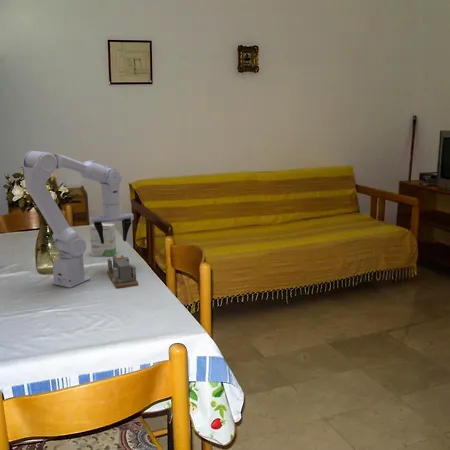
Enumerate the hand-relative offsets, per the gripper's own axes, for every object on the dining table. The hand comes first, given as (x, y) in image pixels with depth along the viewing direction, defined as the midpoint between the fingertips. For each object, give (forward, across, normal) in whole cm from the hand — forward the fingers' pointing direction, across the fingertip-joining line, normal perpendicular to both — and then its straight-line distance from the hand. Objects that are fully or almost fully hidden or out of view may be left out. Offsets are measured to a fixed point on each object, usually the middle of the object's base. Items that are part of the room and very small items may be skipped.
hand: (113, 241), depth 185 cm
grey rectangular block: (+8, 0, +12) cm, 14 cm away
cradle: (+10, 0, +11) cm, 15 cm away
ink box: (+10, 0, -20) cm, 22 cm away
